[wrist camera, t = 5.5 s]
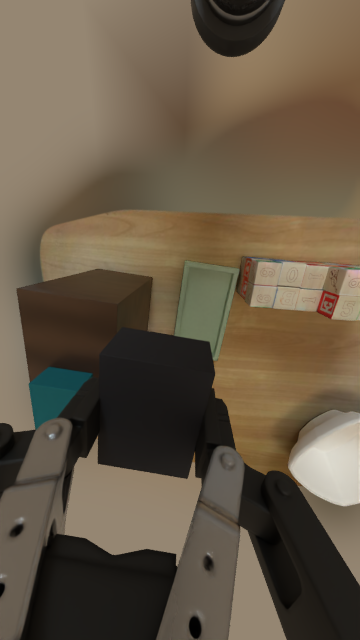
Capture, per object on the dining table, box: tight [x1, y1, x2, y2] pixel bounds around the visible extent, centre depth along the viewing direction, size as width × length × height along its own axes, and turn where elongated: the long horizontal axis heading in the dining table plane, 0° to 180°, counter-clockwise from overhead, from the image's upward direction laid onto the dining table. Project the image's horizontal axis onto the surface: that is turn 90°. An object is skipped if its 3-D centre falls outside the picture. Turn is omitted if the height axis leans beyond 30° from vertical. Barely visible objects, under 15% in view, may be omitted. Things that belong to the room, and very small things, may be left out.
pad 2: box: [98, 327, 215, 479], centre depth 11 cm, size 7×5×3 cm
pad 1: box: [29, 367, 93, 429], centre depth 22 cm, size 7×5×3 cm
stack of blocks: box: [237, 257, 360, 321], centre depth 29 cm, size 21×6×12 cm, turn 86°
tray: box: [174, 260, 240, 361], centre depth 37 cm, size 18×9×2 cm, turn 172°
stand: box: [17, 269, 152, 382], centre depth 31 cm, size 16×10×18 cm, turn 172°
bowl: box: [288, 409, 360, 506], centre depth 42 cm, size 21×21×9 cm
